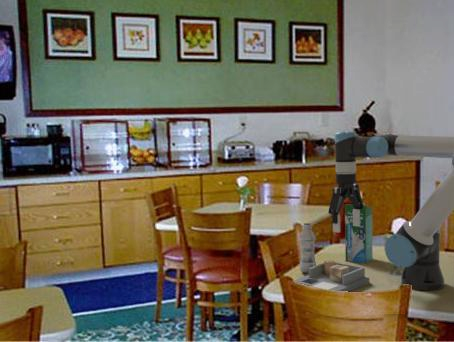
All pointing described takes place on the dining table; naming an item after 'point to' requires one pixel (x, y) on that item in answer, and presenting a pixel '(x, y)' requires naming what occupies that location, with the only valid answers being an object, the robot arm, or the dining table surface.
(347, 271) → the maple cube
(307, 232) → the plastic bottle
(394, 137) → the robot arm
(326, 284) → the cubby deck
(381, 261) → the dining table surface
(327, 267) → the tan block
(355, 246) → the milk carton
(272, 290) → the dining table surface
